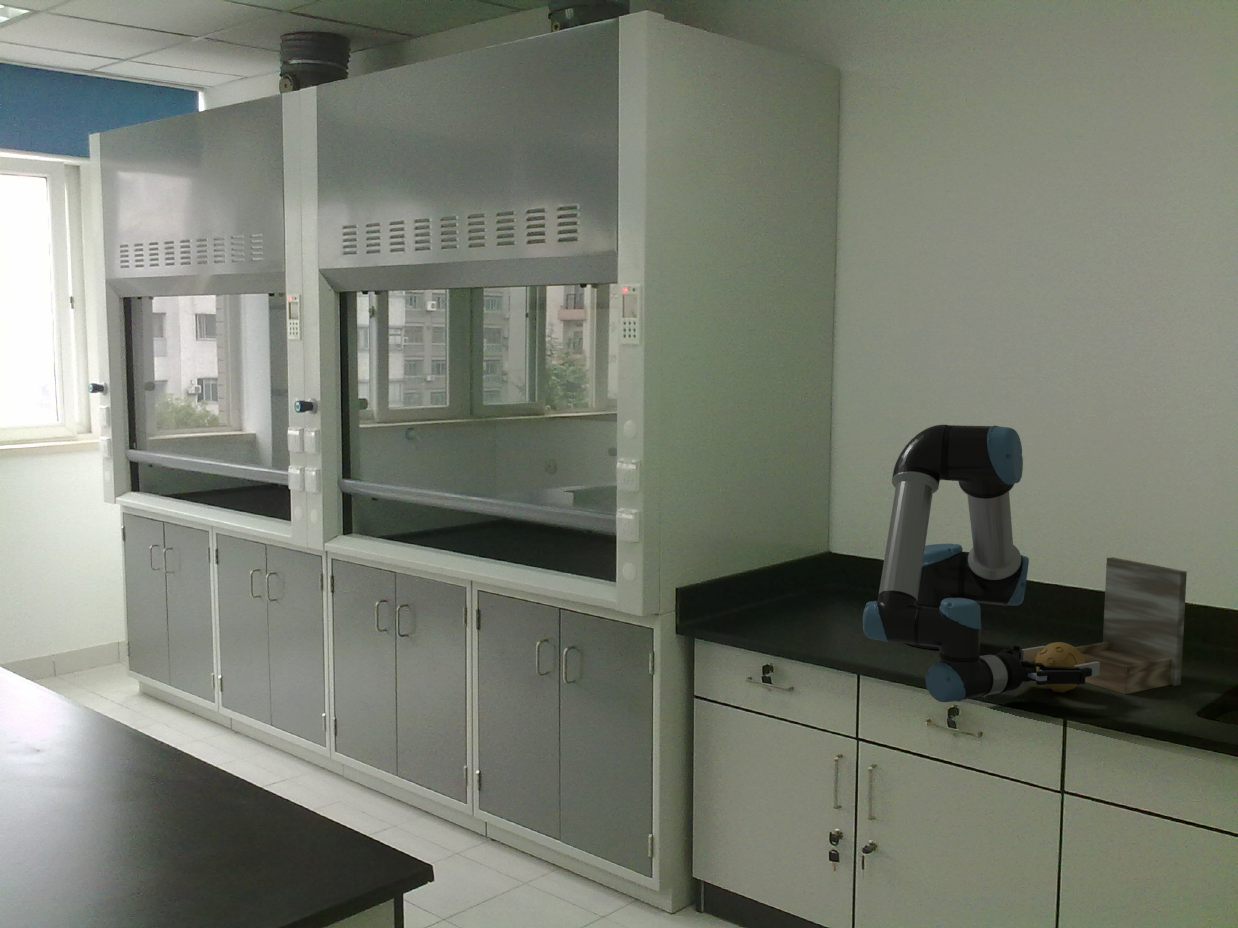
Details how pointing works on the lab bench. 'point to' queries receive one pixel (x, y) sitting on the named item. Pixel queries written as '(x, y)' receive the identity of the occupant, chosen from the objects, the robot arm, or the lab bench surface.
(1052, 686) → the stress ball
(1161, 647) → the ledge stand
